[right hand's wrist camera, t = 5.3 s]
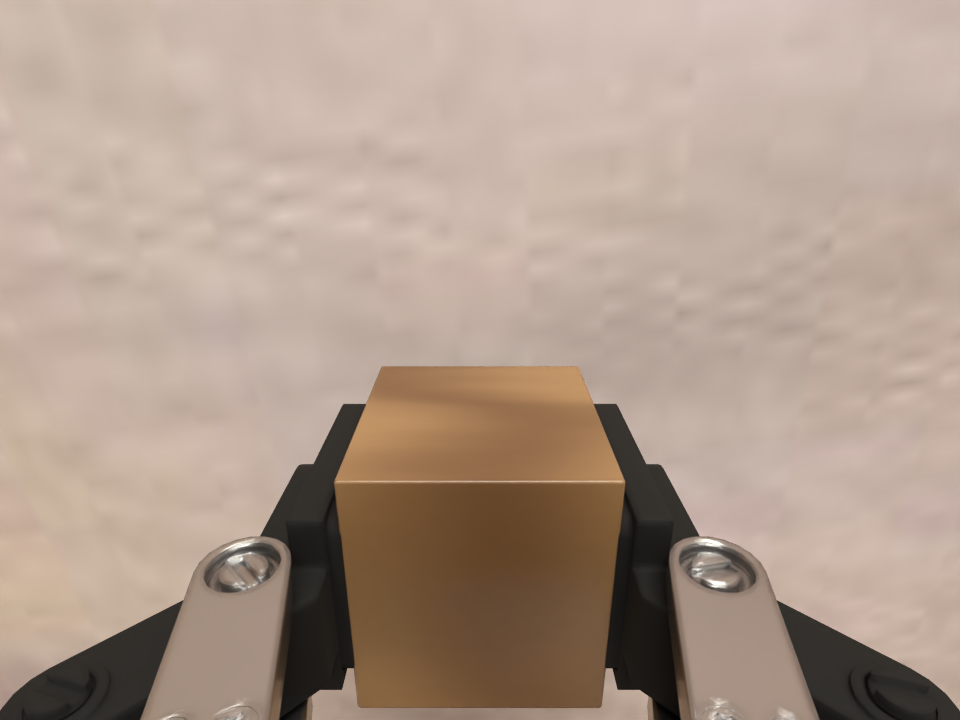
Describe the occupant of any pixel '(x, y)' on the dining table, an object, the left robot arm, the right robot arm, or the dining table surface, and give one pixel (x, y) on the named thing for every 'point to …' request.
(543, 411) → the cube
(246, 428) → the dining table surface
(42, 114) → the dining table surface
